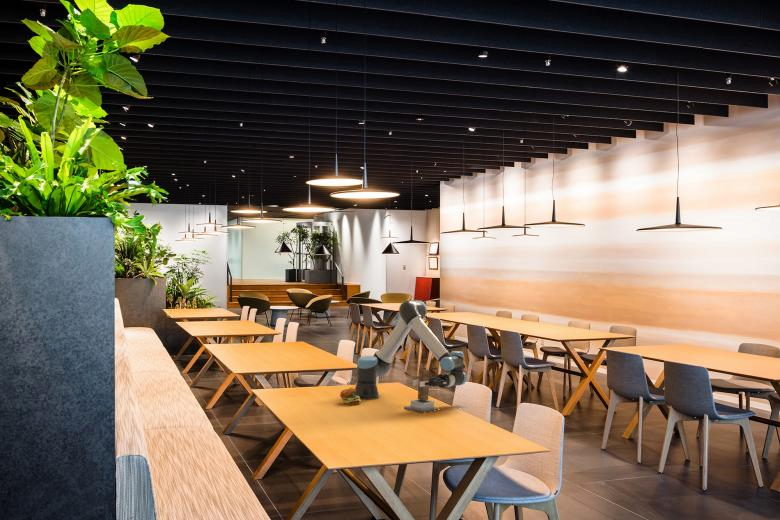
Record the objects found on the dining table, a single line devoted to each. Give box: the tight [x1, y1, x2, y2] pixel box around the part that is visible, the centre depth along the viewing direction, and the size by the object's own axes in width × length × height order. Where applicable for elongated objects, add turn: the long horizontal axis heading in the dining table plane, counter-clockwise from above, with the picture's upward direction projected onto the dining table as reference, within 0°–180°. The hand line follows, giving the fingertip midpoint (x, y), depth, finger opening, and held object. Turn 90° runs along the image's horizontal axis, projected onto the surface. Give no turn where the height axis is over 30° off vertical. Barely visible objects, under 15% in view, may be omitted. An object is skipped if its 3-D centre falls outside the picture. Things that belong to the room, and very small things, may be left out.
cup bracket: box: [403, 398, 441, 414], centre depth 362 cm, size 14×14×4 cm
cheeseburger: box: [339, 387, 362, 406], centre depth 368 cm, size 10×11×10 cm
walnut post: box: [417, 368, 430, 400], centre depth 362 cm, size 4×4×16 cm
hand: (416, 383), depth 358 cm, fingers closed on walnut post, 4 cm apart
